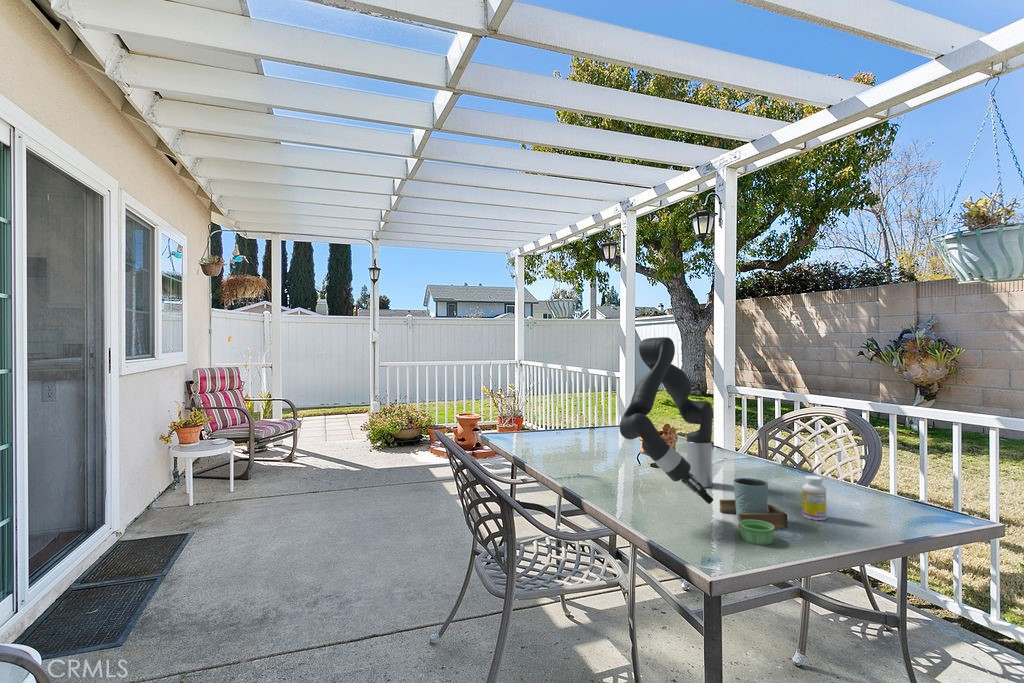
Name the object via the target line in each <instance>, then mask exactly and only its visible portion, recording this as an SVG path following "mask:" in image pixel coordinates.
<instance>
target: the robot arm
mask: <svg viewBox="0 0 1024 683" xmlns="http://www.w3.org/2000/svg"><path fill="white" fill-rule="evenodd" d="M675 347H676V346H675V344H674V341H673V340H672V339H671V338H670V337H667V336H664V337H663V336H662V337H661V336H660V337H649V338H648V337H647V338H645V339H642V340H641V341H640V343H639V346H638V353H639V356H640V358H641V360H642V362H643V363H644V364H645V366H646V367H647V368H648V369H650V370H649V371H648V373H646V375H644V376H643V377H642V379H641V380H640V381H639V382H638V384H637V385H636V387H635V388H634V391H633V395H632V398H631V400H630V403H629V404H628V405H629V406H628V407H627V408H626V410H625V412H624V414H623V415H622V417H621V419H620V423H619V432H620V434H621V436H622V437H623V438H625V439H626V440H629V441H630V440H635V439H637V438H639V437H640V438H641V439H642V441H643V443H642V446H641V448H642V450H643V451H644V452H645V454H646V455H648V457H649V458H650V459H651V460H652V461H653V462H654V463H655V464H656V465H657V467H658V468H659V469H661V470H662V472H664V473H665V475H666V476H668V477H669V479H671V480H672V482H681V483H682V484H683V485H685V486H686V487H687V488H688V489H690V491H692V492H693V493H695V494H696V495H698V496H699V497H701V499H702V500H704V501H705V503H707V504H708V505H711V503H712V502H714V498H713V497H712V496H711V495H710V493H708V492H707V489H706V488H711V487H712V486H713V464H712V462H713V453H712V451H713V450H712V435H713V415H714V414H713V406H712V404H711V403H710V401H705V400H704V401H703V400H691V399H689V396H690V395H691V393H692V387H693V386H692V382H691V380H690V379H689V377H688V375H687V374H686V372H685V371H684V370H682V369H681V368H680V367H678V366H677V365H674V364H672V363H673V360H674V358H675V352H676V348H675ZM661 385H662V387H663V388H664V389H665V391H666V392H667V394H668V396H670V398H671V399H672V401H673V402H674V404H675V405H676V407H677V410H678V411H679V414H680V416H681V417H682V419H683V421H685V423H688V424H692V425H699V429H697V430H695V431H691V432H688V433H687V434H686V458H684V457H683V456H682V455H681V454H680V453H679V452H678V451H677V450H676V449H675V448H674V447H672V446H671V445H670V444H669V443H668V442H667V441H666V440H665V439H664V438H663V436H662V437H661V435H660V434H659V432H658V429H657V427H655V424H654V423H653V422H652V420H651V419H650V418H649V417H648V415H649V414H650V413H651V412H652V410H653V407H654V404H655V399H656V397H657V393H658V390H659V388H660V386H661Z"/></svg>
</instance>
